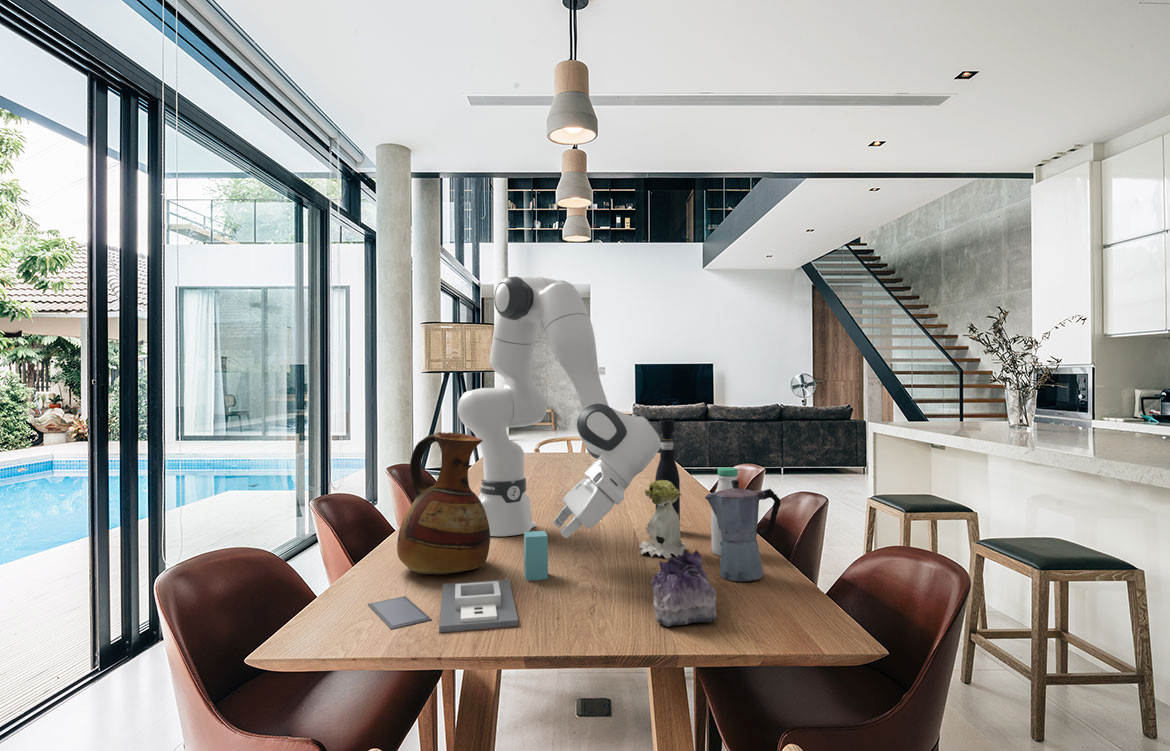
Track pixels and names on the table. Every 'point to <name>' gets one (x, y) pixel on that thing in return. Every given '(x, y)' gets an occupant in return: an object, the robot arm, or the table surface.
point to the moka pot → (741, 530)
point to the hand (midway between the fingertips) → (559, 530)
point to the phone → (399, 612)
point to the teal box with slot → (535, 555)
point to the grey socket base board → (477, 606)
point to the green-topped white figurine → (663, 522)
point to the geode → (683, 592)
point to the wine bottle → (668, 461)
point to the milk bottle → (724, 483)
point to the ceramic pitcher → (444, 513)
